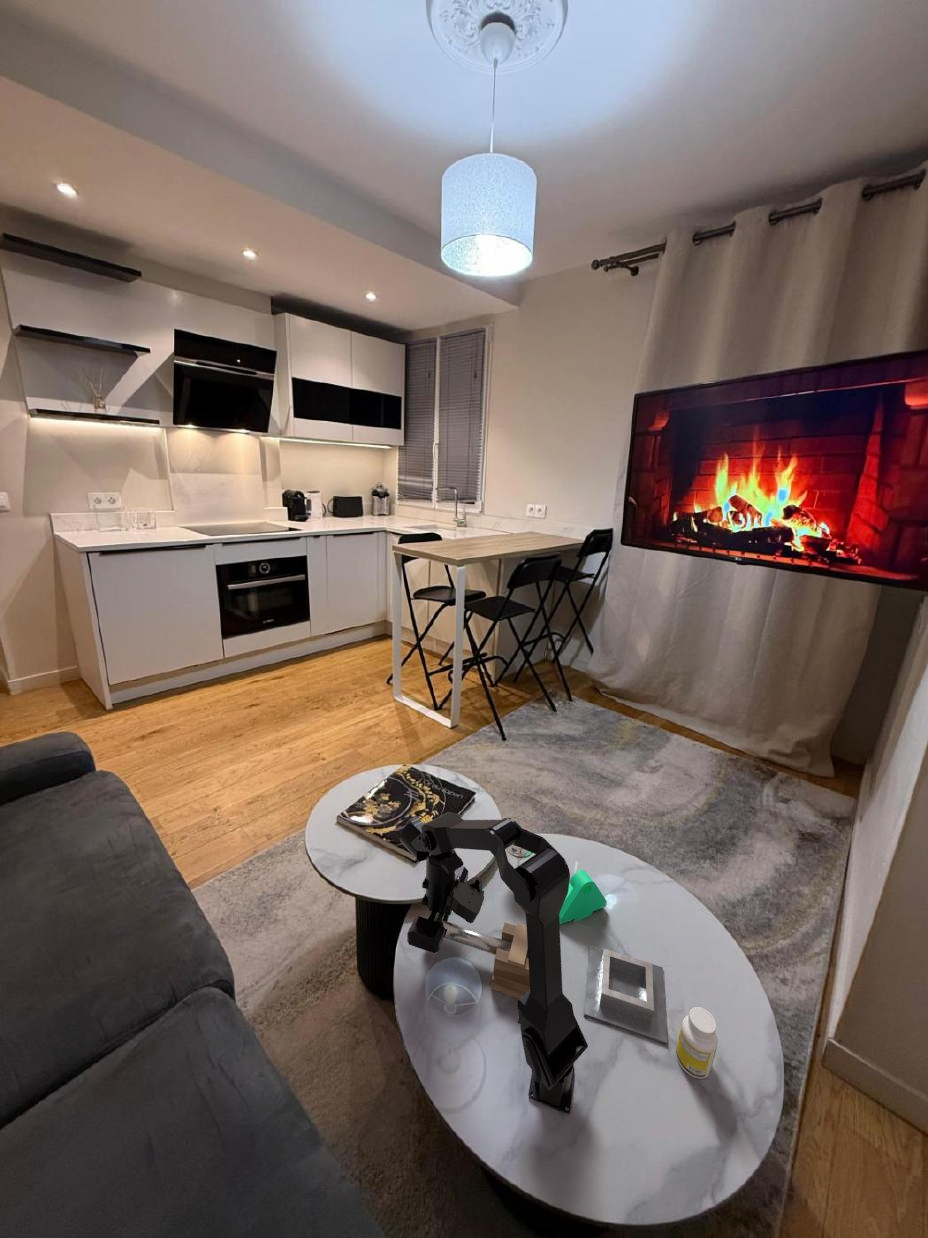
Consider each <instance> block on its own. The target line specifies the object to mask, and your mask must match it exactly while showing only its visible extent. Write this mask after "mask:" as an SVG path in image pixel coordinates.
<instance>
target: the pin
mask: <svg viewBox="0 0 928 1238" xmlns="http://www.w3.org/2000/svg"><path fill="white" fill-rule="evenodd" d="M427 919H429V916H428V917H427ZM442 922H443V926H444V928H445V929H447V932H446V935H445V937H444V939H446V940H449V941H453V942H456V943H459V944H460V945H461V944H462V945H464V946H467V947H471V948H474V949H476V950H479V951H482V952H485V953H487V954H491V955H496V951H497V948H499V949H502V950H505V951H508V952H510V949H511V945H512V943H511V942H508V941H505V940H502V938H498V937H495V936H492V935H489V934H487V933H483V932H481V931H477V930H474V929H472V928H467V927H465V926H461V925H459V924H456V923H452V922H450V921H444V920H442Z"/></svg>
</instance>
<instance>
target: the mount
mask: <svg viewBox="0 0 928 1238" xmlns="http://www.w3.org/2000/svg"><path fill="white" fill-rule="evenodd" d="M501 939H502V940H505V941H508V942H511V943H512V945H511V949H510V952H508V951H505V950H502V949H499V948H497V951H496V955H495V956H494V961H493V973H492V976H491V977H492V978H491V986H490V987H491V988H490V989H491V990H493V991H496V992H499V993H503V994H504V995H507V996H511V997H513V998H516V999H518V1000H519V999H520V998H521V997H522V996H523V995H524V994H525V993H526V992H527V991H528V990H529V989H530V979H529V962H528V944H527V926H526V924H521V923H519V922H517V923H516V925H515V924H511V923H509V922H506V921H505V922H503V927H502V930H501Z"/></svg>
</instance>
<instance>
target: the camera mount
mask: <svg viewBox="0 0 928 1238" xmlns="http://www.w3.org/2000/svg"><path fill="white" fill-rule="evenodd" d="M607 902H608V900H607V899H606V898H605V896H604V895H603V893H602V892H601V890H600V889H599V887H598V885H597V884H596V882H595V881H594V880H593V879H592V877H591V876H590V875H589V874H588V872H587V871H586V870H583V869H582V870H581V869H580V870H577V871H576V872H575V873H573V875H572V876H570V882H569V889H568V894H567V897H566V899H565V901H564V904H563V906H562V908H561V910H560V913H559V922H560V925H562V924H564V923H568V922H570V921H572V920H573V922H578V921H580V920H583V919H585V918H588V917H591V916H592V915H593V912H595V911H598V910H601V909H602V908H605V907H606V906H607Z"/></svg>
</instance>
